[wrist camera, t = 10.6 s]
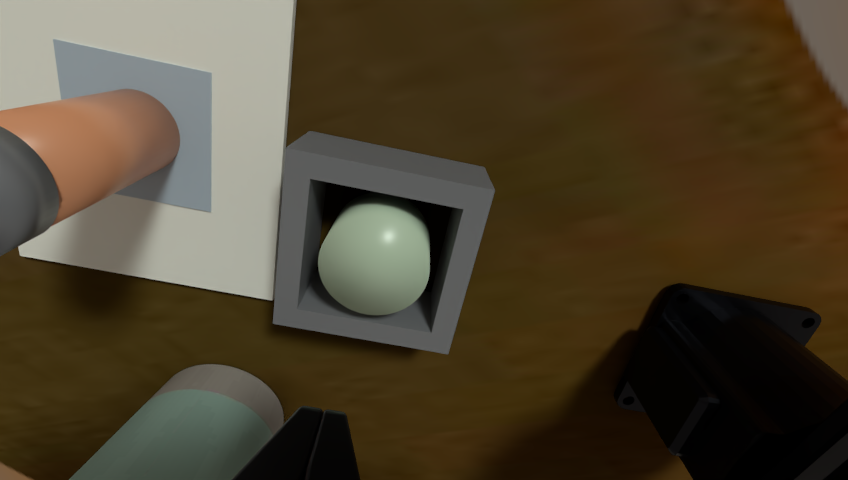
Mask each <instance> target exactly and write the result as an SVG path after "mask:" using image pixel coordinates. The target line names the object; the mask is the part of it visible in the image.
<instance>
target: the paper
mask: <svg viewBox="0 0 848 480" xmlns="http://www.w3.org/2000/svg"><path fill="white" fill-rule="evenodd" d="M295 13H296V0H0V111H1V110H7V109H13V108H18V107H24V106H29V105H35V104H41V103H46V102H52V101H57V100H63V99H69V98H74V97H80V96H85V95H91V94H97V93H102V92H108V91H113V90H119V89H134V90H138V91H142V92H144V93H147V94H149V95H151V96H152V97H154V98H155V99H157V100H158V101H160V102H161V103H162V104H163V105H164V106H165V107H166V108H167V109H168V110H169V112H170V113H171V115H172V116H173V118H174V120H175V122H176V124H177V126H178V129H179V134H180V147H179V151H178V153H177V155H176V157H175V159H174V160H173V161H172V162H171V163H170V164H169V165H167V166H165V167H164V168H162V169H160V170H158V171H156V172H154V173H152V174H150V175H148V176H146V177H144V178H143V179H141V180H139V181H137V182H135V183H133V184H131V185H129V186H127V187H125V188H123V189H122V190H120V191H118V192H116V193H114V194H112V195H110V196H108V197H106V198H104V199H103V200H101V201H99V202H97V203H95V204H93V205H91V206H89V207H87V208H85V209H83V210H82V211H80V212H78V213H76V214H74V215H72V216H70V217H68V218H66V219H64V220H62V221H61V222H59V223H57V224H55V225H53V226H51V227H50V228H49V229H48V230H46V231H45V232H44V233H42V234H40V235H39V236H37V237H35V238H33V239H31V240H29V241H27V242H26V243H24V244H22V245H20V246H18V248H19V253H20V256H24V257H30V258H35V259H41V260H46V261H52V262H58V263H63V264H69V265H75V266H80V267H86V268H91V269H97V270H103V271H108V272H114V273H120V274H125V275H131V276H136V277H142V278H148V279H153V280H159V281H164V282H170V283H176V284H181V285H187V286H193V287H198V288H204V289H209V290H215V291H221V292H226V293H232V294H238V295H243V296H249V297H254V298H260V299H266V300H271V301H272V300H273V299H274V297H275V286H276V272H277V259H278V245H279V231H280V218H281V204H282V191H283V177H284V163H285V150H286V136H287V122H288V109H289V95H290V82H291V68H292V54H293V41H294V27H295Z"/></svg>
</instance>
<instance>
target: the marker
mask: <svg viewBox="0 0 848 480" xmlns="http://www.w3.org/2000/svg"><path fill="white" fill-rule="evenodd" d="M179 147H180V134H179V129H178V126H177V124H176V122H175V120H174V118H173V116H172V115H171V113H170V112H169V110H168V109H167V108H166V107H165V106H164V105H163V104H162V103H161V102H160V101H158V100H157V99H155V98H154V97H152V96H151V95H149V94H147V93H144V92H142V91H138V90H134V89H119V90H113V91H108V92H102V93H97V94H91V95H85V96H80V97H74V98H69V99H63V100H57V101H52V102H46V103H41V104H35V105H29V106H24V107H18V108H13V109H7V110H1V111H0V256H1V255H3V254H5V253H7V252H9V251H10V250H12V249H14V248H16V247H18V246H20V245H22V244H24V243H26V242H27V241H29V240H31V239H33V238H35V237H37V236H39V235H40V234H42V233H44V232H45V231H46V230H48V229H49V228H50V227H51V226H53V225H55V224H57V223H59V222H61V221H62V220H64V219H66V218H68V217H70V216H72V215H74V214H76V213H78V212H80V211H82V210H83V209H85V208H87V207H89V206H91V205H93V204H95V203H97V202H99V201H101V200H103V199H104V198H106V197H108V196H110V195H112V194H114V193H116V192H118V191H120V190H122V189H123V188H125V187H127V186H129V185H131V184H133V183H135V182H137V181H139V180H141V179H143V178H144V177H146V176H148V175H150V174H152V173H154V172H156V171H158V170H160V169H162V168H164V167H165V166H167V165H169V164H170V163H171V162H172V161H173V160H174V159H175V157H176V155H177V153H178V151H179Z"/></svg>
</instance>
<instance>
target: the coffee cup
mask: <svg viewBox="0 0 848 480" xmlns="http://www.w3.org/2000/svg"><path fill="white" fill-rule="evenodd" d="M283 422H284V415H283V410H282V407H281V404H280V402H279V400H278V398H277V397H276V395H275V394H274V392H273V391H272V390H271V389H270V388H269V387H268V386H267V385H266V384H265V383H263V382H262V381H261V380H259V379H258V378H256V377H255V376H253V375H251V374H249V373H247V372H245V371H243V370H240V369H237V368H234V367H230V366H225V365H216V364H205V365H197V366H193V367H189V368H187V369H184V370H182V371H180V372H179V373H177V374H176V375H174V376H173V377H172V378H171V379H170V380H169V381H168V382H167V383H166V384H165V385H164V386H163V387H162V388H161V389H160V390H159V391H158V392H157V393H156V394H155V395H154V396H153V397H152V398H151V399H150V400H149V401H148V402H147V403H145V404H144V405H143V406H142V407H141V408H140V409H139V410H138V411H137V412H136V413H135V414H134V415H133V416H132V417H131V418H130V419H129V420H128V421H127V422H126V423H125V424H124V425H123V426H122V427H121V428H120V429H119V430H118V431H117V432H116V433H115V434H114V435H113V436H112V437H111V438H110V439H109V440H108V441H107V442H106V443H105V444H104V445H103V446H102V447H101V448H100V449H99V450H98V451H97V452H96V453H95V454H94V455H93V456H92V457H91V458H90V459H89V460H88V461H87V462H86V463H85V464H84V465H83V466H82V467H81V468H80V469H79V470H78V471H77V472H76V473H75V474H74V475H73V476H72V477H71V478H70V479H69V480H231V479H232V478H233V477H234V476H235V475H236V474H237V473H238V472H239V471H240V470H241V469H242V468H243V467H244V466H245V465H246V464H247V462H248V461H249V460H250V459H251V458H252V457H253V456H254V455H255V454H256V453H257V452H258V451H259V450H260V449H261V448H262V447H263V445H264V444H265V443H266V442H267V441H268V440H269V439H270V438H271V437H272V436H273V435H274V434H275V433H276V432H277V431H278V430H279V428H280V427H281V426H282V425H283Z"/></svg>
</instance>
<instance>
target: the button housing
mask: <svg viewBox="0 0 848 480" xmlns="http://www.w3.org/2000/svg"><path fill="white" fill-rule="evenodd" d="M327 182H329V183H334V184H339V185H344V186H349V187H354V188H359V189H364V190H369V191H374V192H379V193H384V194H389V195H394V196H399V197H404V198H409V199H414V200H419V201H424V202H429V203H434V204H439V205H444V206H449V207H452V210H451V214H450V218H449V222H448V226H447V230H446V234H445V238H444V242H443V246H442V250H441V254H440V258H439V262H438V266H437V270H436V274H435V279H434V283H433V287H432V291H431V292H427V291H423V293H422V294H421V296H420V297H419V298H418V299H417V300H416V301H415V302H414V303H412V304H411V305H410V306H408V307H407V308H405V309H403V310H401V311H398V312H395V313H392V314H387V315H367V314H362V313H358V312H356V311H353V310H351V309H348V308H346V307H345V306H343V305H342V304H340V303H339V302H338V301H336V300H335V299H334V298H333V297H332V296H331V295H330V294H329V292H328V291H327V290H326V288H325V286H324V285H323V283H322V280H321V278H320V274H319V271H316V270H317V261H318V253H319V244H320V236H321V227H322V219H323V210H324V202H325V193H326V184H327ZM494 192H495V189H494V187H493V185H492V183H491V180H490V178H489V176H488V174H487V172H486V169H485V167H481V166H477V165H472V164H467V163H462V162H457V161H452V160H448V159H443V158H438V157H433V156H428V155H424V154H419V153H414V152H409V151H404V150H400V149H395V148H390V147H385V146H380V145H375V144H371V143H366V142H361V141H356V140H351V139H347V138H342V137H337V136H332V135H327V134H322V133H318V132H313V131H309V132H307V133H306V134H305V135H303V136H302V137H300V138H299V139H297V140H296V141H295V142H293V143H292V144H290V145H289V146H287V147H286V150H285V164H284V178H283V191H282V205H281V218H280V232H279V246H278V259H277V273H276V287H275V300H274V314H273V324H277V325H283V326H288V327H294V328H300V329H306V330H311V331H317V332H323V333H329V334H334V335H340V336H346V337H351V338H357V339H363V340H369V341H374V342H380V343H386V344H392V345H397V346H403V347H409V348H415V349H420V350H426V351H432V352H438V353H443V354H448V353H449V350H450V346H451V343H452V339H453V336H454V332H455V329H456V325H457V322H458V318H459V315H460V311H461V308H462V304H463V301H464V297H465V294H466V290H467V287H468V283H469V280H470V276H471V273H472V269H473V266H474V262H475V259H476V255H477V252H478V248H479V245H480V241H481V238H482V234H483V231H484V227H485V224H486V220H487V217H488V213H489V210H490V206H491V203H492V199H493V196H494Z"/></svg>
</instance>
